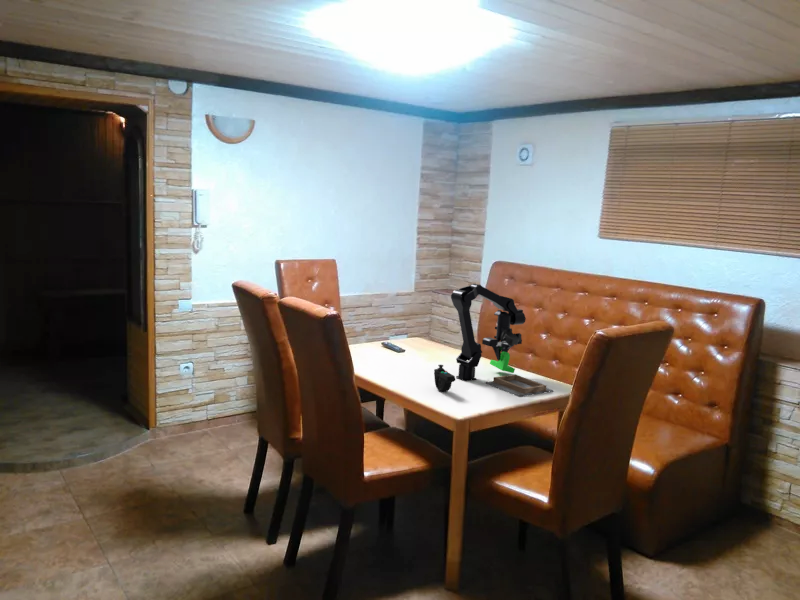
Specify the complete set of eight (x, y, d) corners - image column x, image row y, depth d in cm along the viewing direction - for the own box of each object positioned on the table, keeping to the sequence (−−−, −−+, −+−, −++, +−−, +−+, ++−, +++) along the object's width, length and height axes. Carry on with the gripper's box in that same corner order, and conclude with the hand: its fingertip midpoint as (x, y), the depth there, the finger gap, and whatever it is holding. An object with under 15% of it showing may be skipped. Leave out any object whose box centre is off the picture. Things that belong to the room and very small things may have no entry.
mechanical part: (513, 373, 272) (518, 355, 271) (502, 370, 270) (507, 352, 269) (500, 366, 283) (505, 349, 282) (489, 363, 281) (494, 346, 280)
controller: (440, 387, 251) (442, 363, 250) (455, 396, 240) (457, 371, 239) (431, 387, 249) (432, 363, 248) (445, 396, 238) (447, 371, 237)
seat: (518, 396, 244) (519, 390, 243) (485, 383, 260) (486, 377, 260) (553, 391, 254) (553, 385, 253) (519, 379, 270) (519, 373, 270)
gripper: (499, 330, 261) (496, 366, 263) (532, 327, 271) (528, 362, 273) (482, 325, 270) (480, 359, 273) (514, 323, 280) (511, 356, 283)
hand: (500, 359), depth 275 cm, fingers closed on mechanical part, 2 cm apart
